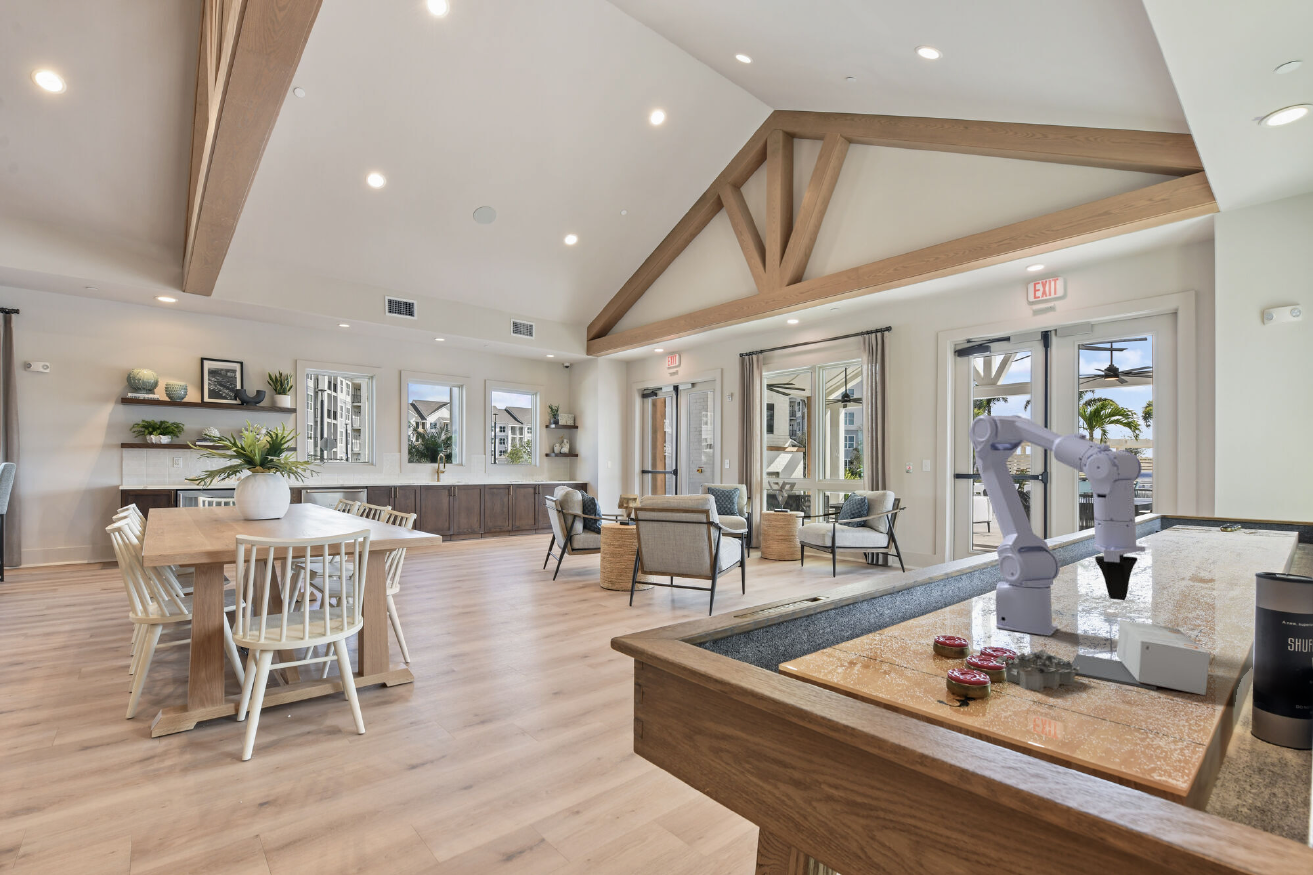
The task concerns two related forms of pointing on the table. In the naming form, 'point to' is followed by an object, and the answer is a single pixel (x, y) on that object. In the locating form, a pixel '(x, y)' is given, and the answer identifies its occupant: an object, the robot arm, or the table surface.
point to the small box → (1163, 657)
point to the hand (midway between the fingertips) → (1117, 598)
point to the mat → (1106, 671)
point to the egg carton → (1039, 670)
